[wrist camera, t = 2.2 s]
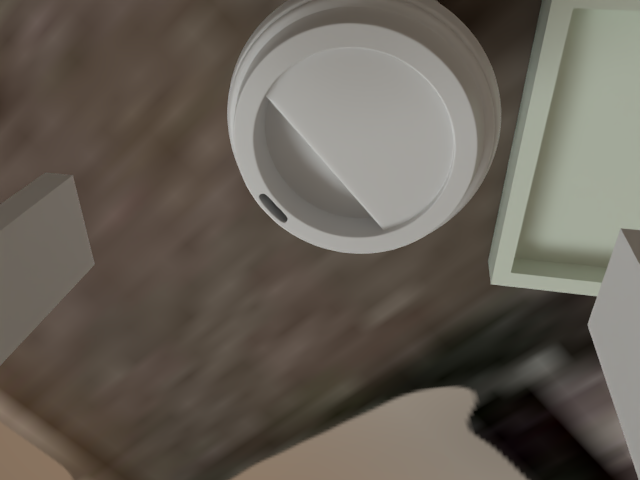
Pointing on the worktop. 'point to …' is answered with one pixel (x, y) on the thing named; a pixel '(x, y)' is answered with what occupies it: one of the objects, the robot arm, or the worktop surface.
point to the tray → (572, 150)
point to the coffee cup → (363, 120)
